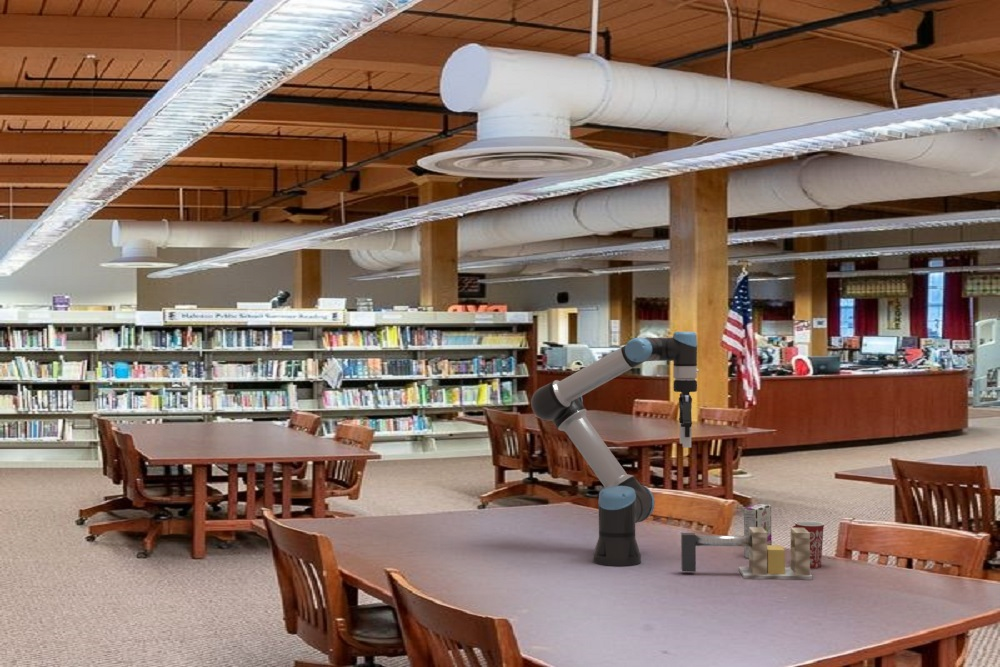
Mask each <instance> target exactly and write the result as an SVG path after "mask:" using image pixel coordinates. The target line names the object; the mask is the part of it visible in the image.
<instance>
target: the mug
mask: <svg viewBox="0 0 1000 667" xmlns="http://www.w3.org/2000/svg"><path fill="white" fill-rule="evenodd" d="M824 527H825V523H824V522H820V521H815V520H799V521H795V522H794V525H793V526H791V528H805V529H806V530H807V531H808V532H809V533H810V569H818V568H821V567H822V555H823V542H824V541H823V540H824Z"/></svg>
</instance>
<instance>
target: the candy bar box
mask: <svg viewBox="0 0 1000 667" xmlns="http://www.w3.org/2000/svg"><path fill="white" fill-rule="evenodd" d="M749 527H763V529H764V530H765V531H766V532H767V545H773V544H772V543H773V542H772V541H773V540H772V505H771V504H765V503H758V504H754V505H750V506H746V507H744V508H743V530H744V532H743V533H744V535H743V536H749ZM744 559H749V547H744Z"/></svg>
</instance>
